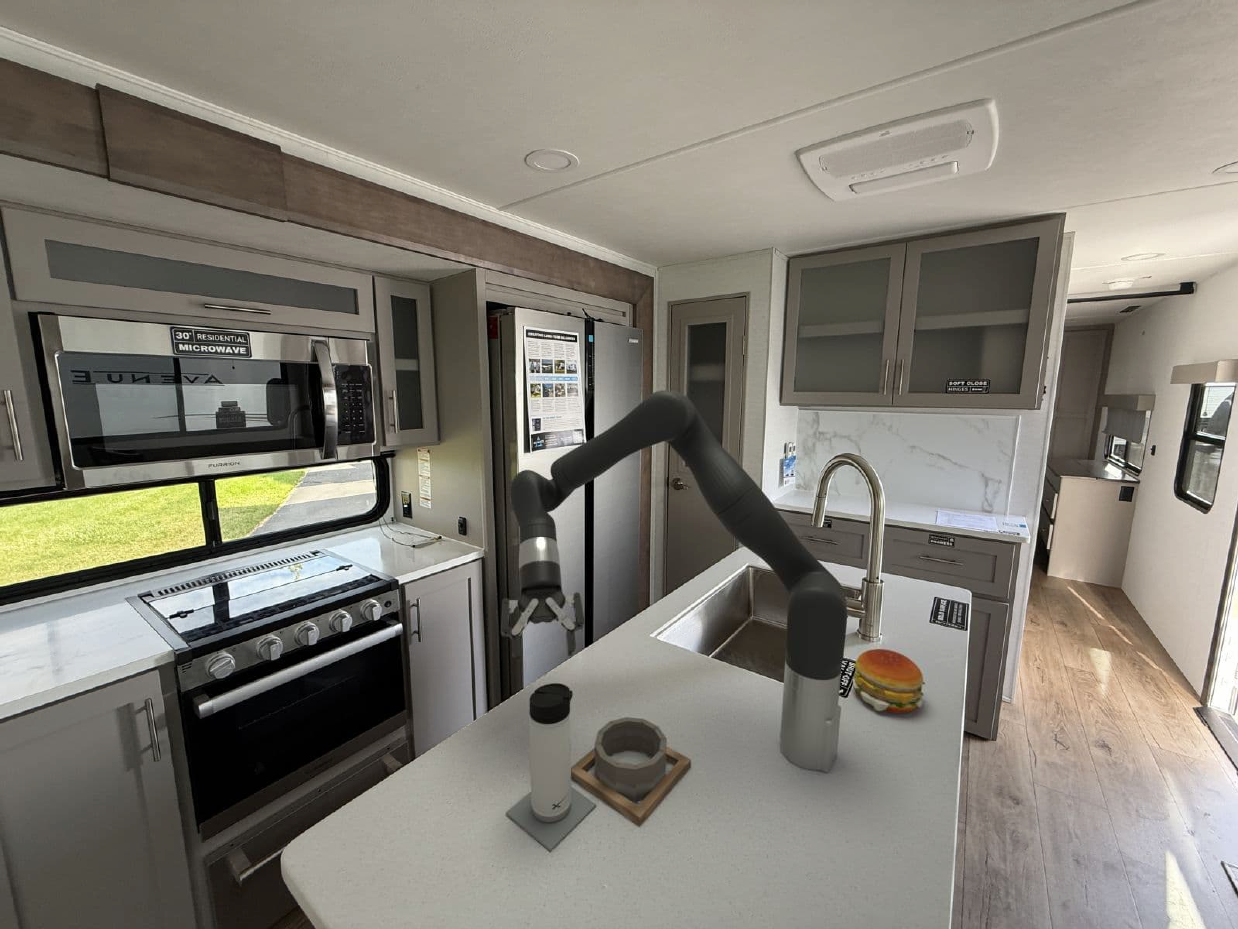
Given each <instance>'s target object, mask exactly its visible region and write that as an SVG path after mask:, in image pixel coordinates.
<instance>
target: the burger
mask: <svg viewBox="0 0 1238 929" xmlns="http://www.w3.org/2000/svg"><path fill="white" fill-rule="evenodd" d="M853 669H855V671H854V675H853V677H852V687H853V688H854V690H856V692H857V694H858V695H859V697H860V698H861V699H862V700H863V701H864V702H865V703H867V704H869V705H870V706H872V707H873V708H874V710H875V711H876V712H877V711H878V712H882V711H884V712H889V713H893V714H905V713H911V712H912V711H913V710H915V709H917V708H921V707H923V703H924V701H923V696H925V694H924V693H923V692H922V688H923V685H926V683H925V681H924V676H923V673H922V671H921V669H920V668H919V666H918V665H917V664H916V663H915V662H914V661H913V660H912V659H910V658H909V657H908V656H906V655H904V654H902V653H900V652H897V651H895V650H890V649H886V648H885V649H884V648H874V649H870V650H869V649H868V650H866V651H864V652H862V653H861V654H860V655H858V657H857V659H856V661H855V664H853Z"/></svg>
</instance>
